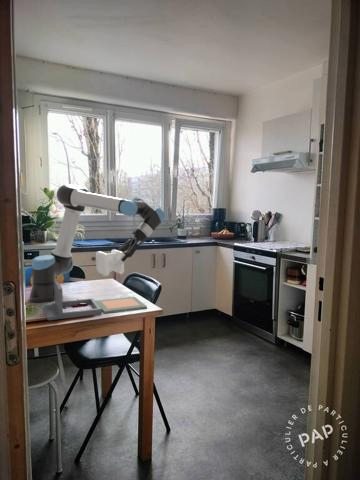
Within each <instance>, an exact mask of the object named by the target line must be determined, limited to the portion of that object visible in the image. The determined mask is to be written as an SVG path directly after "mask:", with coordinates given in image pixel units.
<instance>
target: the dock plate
mask: <svg viewBox="0 0 360 480" xmlns="http://www.w3.org/2000/svg"><path fill="white" fill-rule="evenodd" d="M95 301H96V303H97V304H98V305H99V306H100V307H101V309H102V313H103V314H111V313H119V312H126V311H127V312H128V311H135V310H144V309H147V308H148V306H147V305H146V304H145V303H143V302H142V301H141V300H139V298H137V297H135V296H129V297H120V298H108V299H99V300H95Z"/></svg>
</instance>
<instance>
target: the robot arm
mask: <svg viewBox="0 0 360 480" xmlns="http://www.w3.org/2000/svg"><path fill="white" fill-rule="evenodd" d="M56 198H57V201H58V202H59V203H60V204H62V205H63V206H62V207H63V209H64V212H63V217H62V219H61V220H62V221H61V225H60V230H59V232H58V237H57V241H56V244H55V248H54V249H52V250H51V252H50V253H51V254H44V255H39V256H35V257H34V258H33V259H32V261H31V269H32V270H31V274H32V287H31V290H30V294H29V301H30V302H33V303H47V302H49V303H50V302H52V301H54V280H56V277H59V276H64V275H65V274H68V273H70V272H71V271H72V269H73V268H74V267H73V266H74V260H73V254H72V252H71V250H72V247H73V245H74V239H75V236H76V231H77V229H78V224H79V222H80V217H81V214H82V213H84V212H85V208H91V209H94V210H95V209H96V210H101V211H106V212H111V213H115V214H120V215H124V216H128V217H131V216H139V217H141V219H142V220H143V221H141V223H140V224H139V225H138V226H137V228H136V229H134V231H133V232H132V235H133V237H129V238H128V239H127V240H126V241H125V242H124V243H123V244H121V246H119V247H118V248H117V250H118V251H121V252H123V254H124V255H123V256H122V257H121V258H120V259H119V260H118V261H117V262H116V263H115V264H116V265H117V266H118V267H120V266H121V265H122V264H123V263H124V264H125V262H126V261H127V260H128V259H129V258H132V257H133V255H134V254H135V252H136V251H137V249H138V248H139V246H140V245H142V243H144V242H146V240H147V239H148V238H149V237H150V236H151V235H152V234H153V232H154V231H155V230H156V229H157V228H158V227H159V225H161V224H162V222H163V221H164V220H165V219H166V217H167V215H166V213H165V211H164V210H162V209H161V208H159V207H155V208H153V207H151V205H149V204H147V202H145V201H144V200H143V199H142V198H140V197H139V196H134V197H133V198H132V199H125V198H120V197H114V196H109V195H104V194H98V193H92V192H90V190H89V189H88V188H87V187H86V186H84V185H80V184H69V183H68V184H67V183H66V184H62V185H61V186H59V187H58V189H57V192H56Z"/></svg>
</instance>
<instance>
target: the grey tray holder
mask: <svg viewBox="0 0 360 480" xmlns="http://www.w3.org/2000/svg"><path fill="white" fill-rule="evenodd" d="M96 301H97V300H95V299H94V298H82V299H81V298H79V299H74V300H73V299H72V300H63V287H62V286H61V284H60V282H59V281H58V279H55V280H54V303H52V304H44V305H43V309H44V312H45V317H46V319H47V321H55V320H64V319H71V318H80V317H87V316H88V317H89V316H97V315H101V314H103V311H102V309H101V307H100V306H99V305H98V304H97V303H96ZM80 303H87V304H86V305H91V306H92V307H93V308H91V309H90V308H89V309H80V310H74V311H64V310H63V308H64V306H65V307H72V306H71V305H75V304H80ZM75 306H76V305H75Z"/></svg>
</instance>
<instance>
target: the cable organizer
mask: <svg viewBox="0 0 360 480" xmlns="http://www.w3.org/2000/svg"><path fill="white" fill-rule="evenodd" d="M123 255H124V252H121V251H118V249H111V252H108V253H106V252H104V251H101V250H99V251H96V252H95V260H96V261H95V263H96V264H95V265H96V271H97V273H98V274H100V275H102V276H103V277H107V276H110V274H111V273H112V272H115V273H118V275H122V274H124V272H125V262H124V263H123V264H122V265H121V266H120V267H118V266H117V265H116V264H115V263H116V262H117V261H118V260H119V259H120V258H121V257H122V256H123Z"/></svg>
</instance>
